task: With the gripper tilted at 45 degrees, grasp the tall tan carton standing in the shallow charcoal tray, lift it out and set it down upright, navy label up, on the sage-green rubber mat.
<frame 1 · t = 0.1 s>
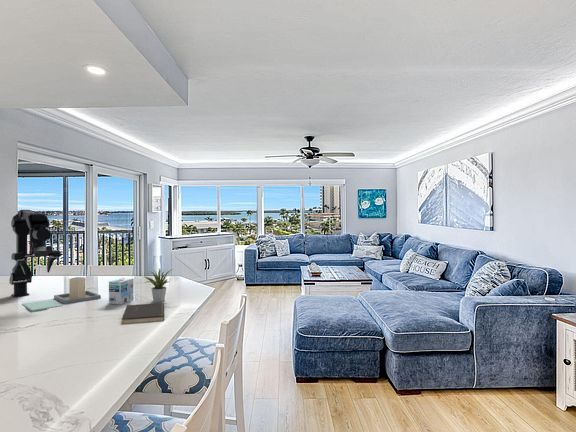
hand: (37, 273, 180), 15 cm above the counter, tool pointing down, fingers open, 9 cm apart
mat: (42, 306, 177), on the counter
hardcover book: (144, 316, 166), on the counter
parts tray: (77, 299, 191), on the counter
light bulb box: (121, 302, 187), on the counter
carton: (77, 298, 191), resting on parts tray
house plant: (160, 300, 192), on the counter
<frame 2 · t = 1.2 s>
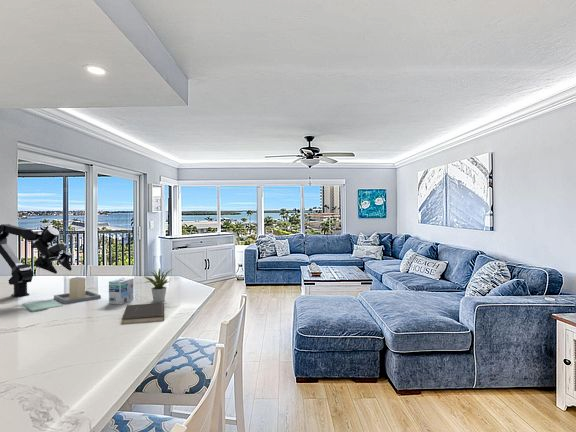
hand: (63, 271, 193), 13 cm above the counter, tool tilted 45°, fingers open, 9 cm apart
nothing on the counter moved.
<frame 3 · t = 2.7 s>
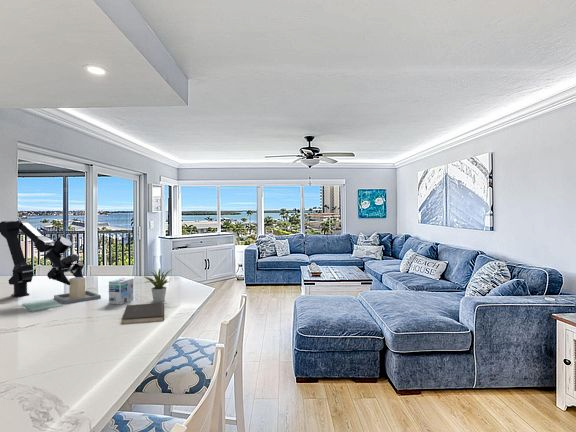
hand: (76, 282, 191), 8 cm above the counter, tool tilted 45°, fingers open, 9 cm apart
nothing on the counter moved.
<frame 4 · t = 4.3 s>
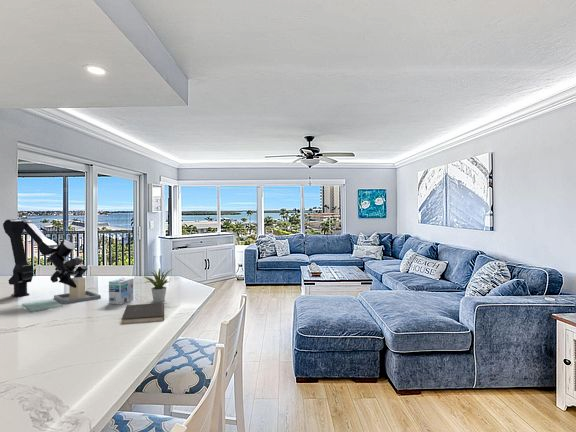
hand: (79, 286, 191), 7 cm above the counter, tool tilted 45°, fingers closed on carton, 5 cm apart
carton: (77, 298, 191), resting on parts tray, touching gripper
everything else where it was.
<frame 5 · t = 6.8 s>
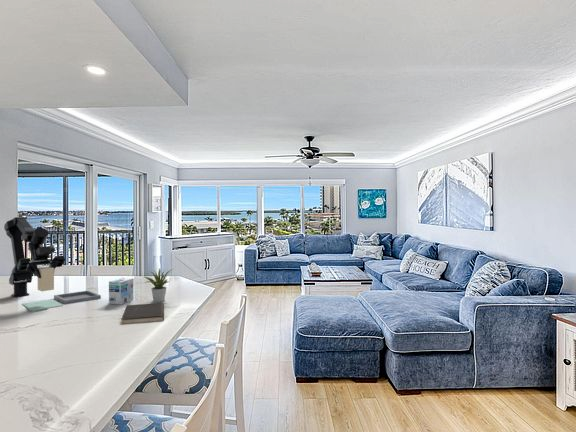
hand: (46, 277, 177), 13 cm above the counter, tool tilted 45°, fingers closed on carton, 5 cm apart
carton: (45, 289, 178), point 7 cm above the counter, touching gripper
everything else where it was.
when the fingers open (8 cm above the counter, at t = 9.1 s): carton stays where it is, resting on mat.
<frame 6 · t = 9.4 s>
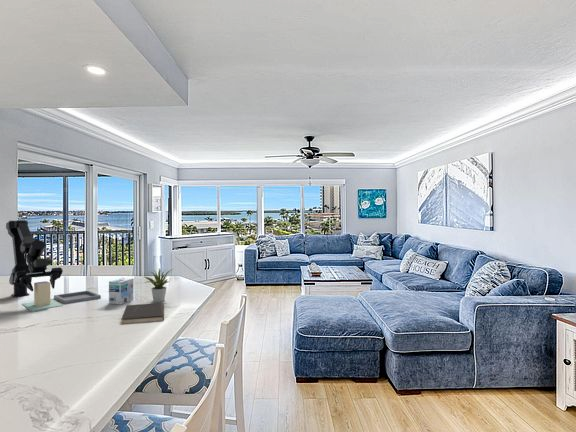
hand: (43, 289, 176), 8 cm above the counter, tool tilted 45°, fingers open, 8 cm apart
carton: (42, 304, 177), point 1 cm above the counter, touching mat
everything else where it was.
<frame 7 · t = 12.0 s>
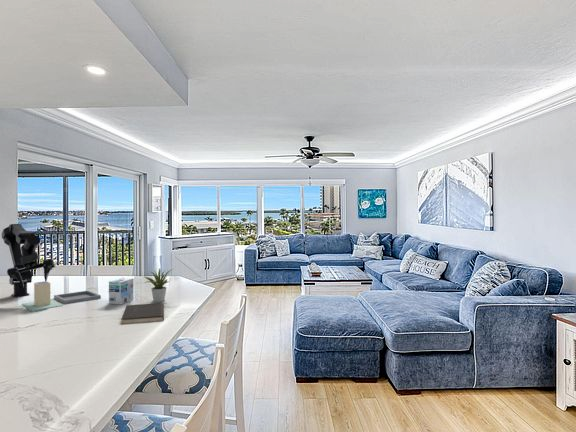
hand: (34, 284, 183), 9 cm above the counter, tool tilted 35°, fingers open, 9 cm apart
nothing on the counter moved.
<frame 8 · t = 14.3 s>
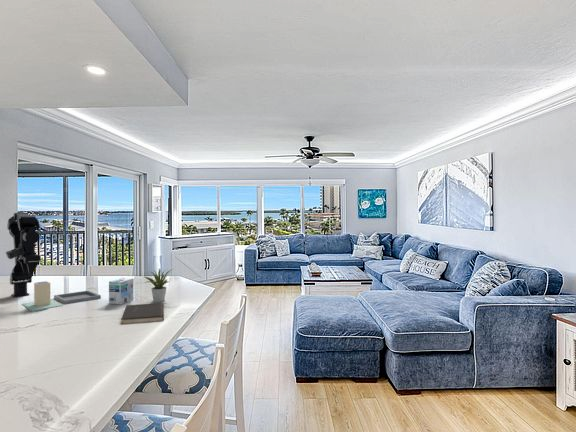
hand: (27, 274, 186), 13 cm above the counter, tool pointing down, fingers open, 9 cm apart
nothing on the counter moved.
at the end: carton inside the target area on the mat (0.0 cm from its centre), point 0.8 cm above the mat's base; carton tilted 0°; the gripper is holding nothing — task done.
